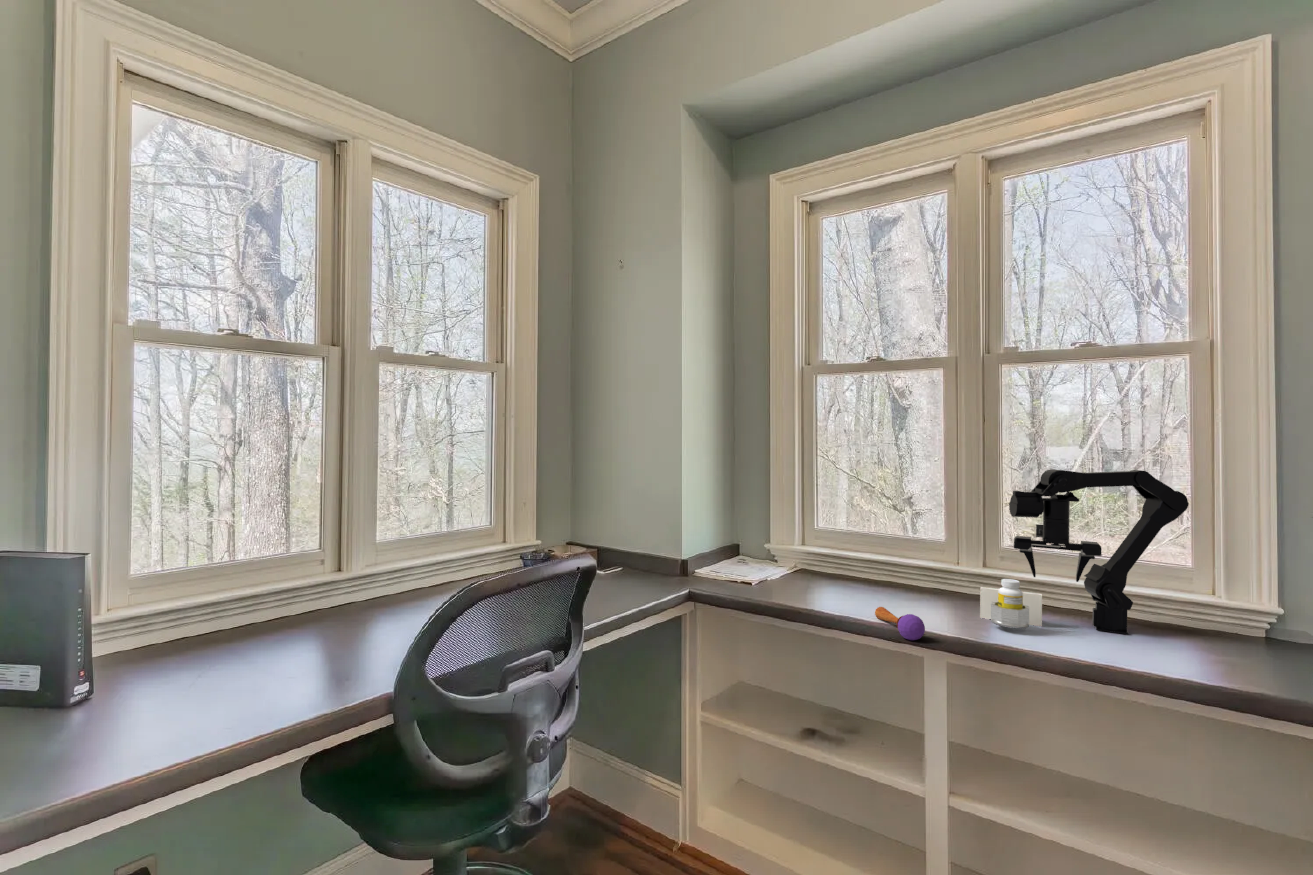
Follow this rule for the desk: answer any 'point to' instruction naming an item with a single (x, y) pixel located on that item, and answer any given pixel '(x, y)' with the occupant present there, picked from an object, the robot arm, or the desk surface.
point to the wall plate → (1028, 599)
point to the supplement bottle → (1010, 594)
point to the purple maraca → (903, 623)
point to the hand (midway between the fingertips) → (1055, 579)
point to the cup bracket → (1010, 616)
